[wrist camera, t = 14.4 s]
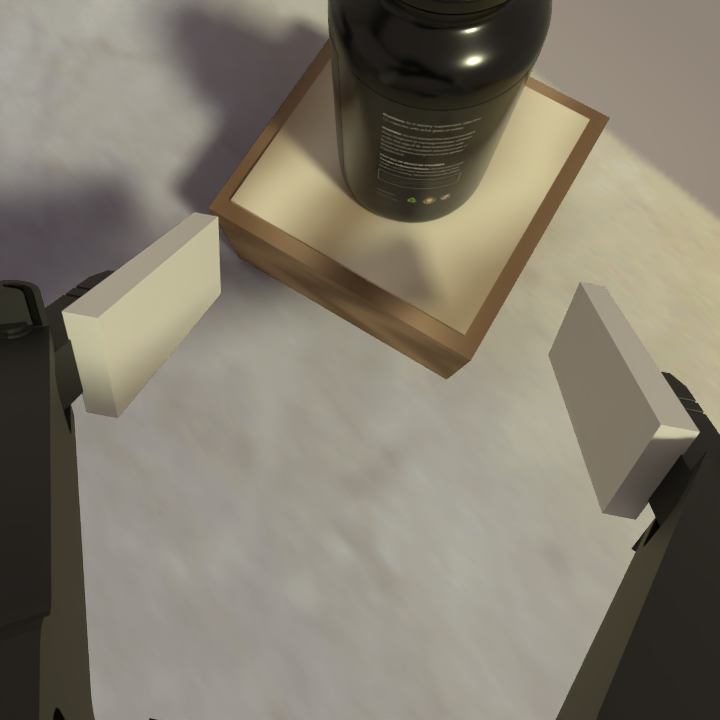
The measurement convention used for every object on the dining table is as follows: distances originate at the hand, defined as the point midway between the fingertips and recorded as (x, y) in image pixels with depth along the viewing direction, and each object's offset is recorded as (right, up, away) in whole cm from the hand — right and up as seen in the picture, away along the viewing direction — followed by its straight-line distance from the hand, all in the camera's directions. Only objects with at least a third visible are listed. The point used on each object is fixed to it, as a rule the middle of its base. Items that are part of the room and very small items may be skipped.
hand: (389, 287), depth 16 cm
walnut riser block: (+2, +6, +13) cm, 15 cm away
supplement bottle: (+1, +7, +7) cm, 10 cm away
